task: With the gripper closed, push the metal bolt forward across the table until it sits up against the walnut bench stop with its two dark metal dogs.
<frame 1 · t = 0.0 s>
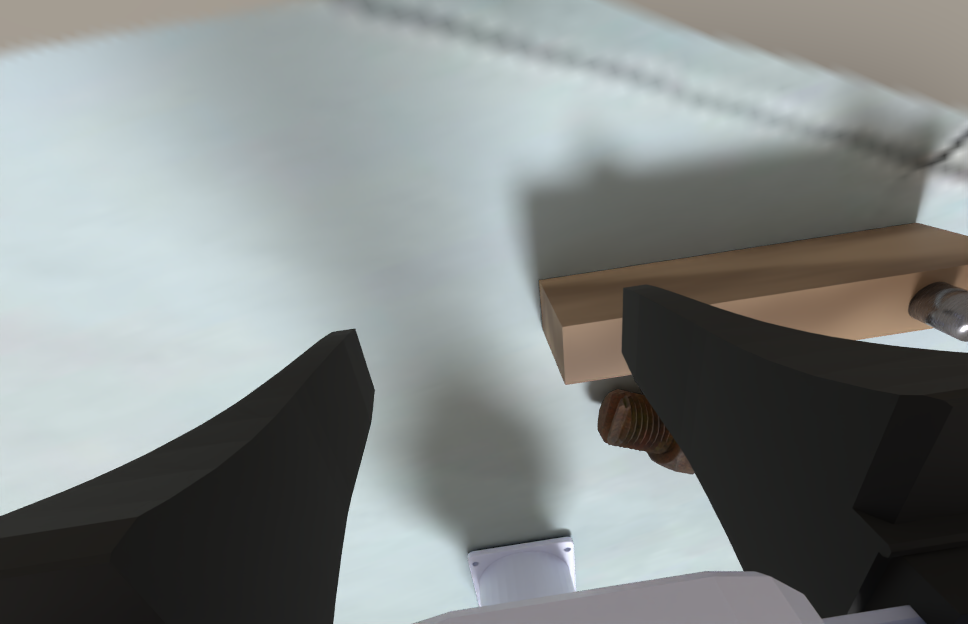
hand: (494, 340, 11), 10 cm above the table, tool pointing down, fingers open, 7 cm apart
bench stop: (724, 277, 22), on the table
bolt: (699, 408, 27), on the table
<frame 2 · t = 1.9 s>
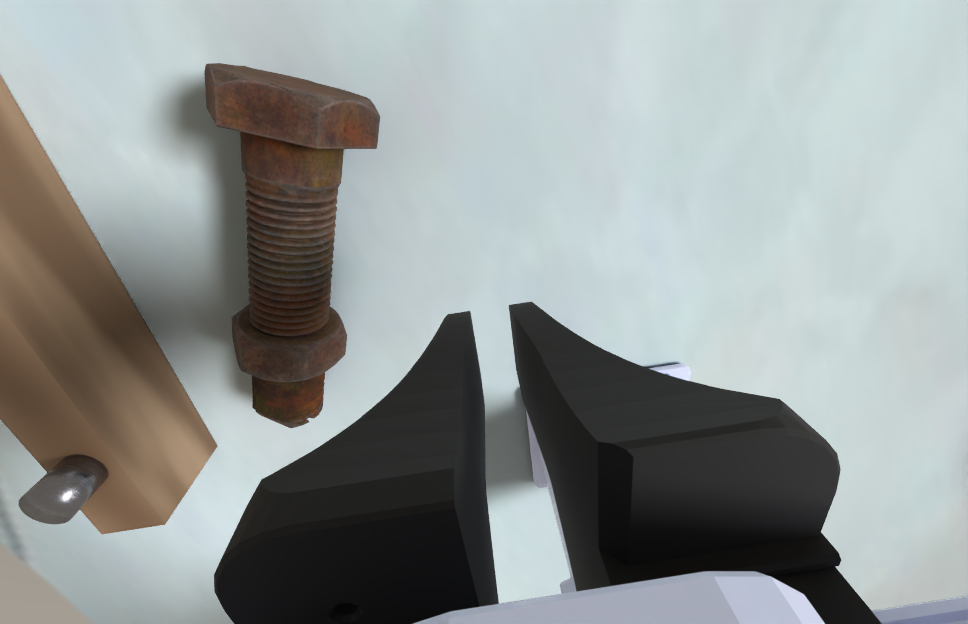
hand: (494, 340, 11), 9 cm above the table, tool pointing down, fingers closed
bench stop: (94, 295, 19), on the table
bolt: (306, 257, 20), on the table
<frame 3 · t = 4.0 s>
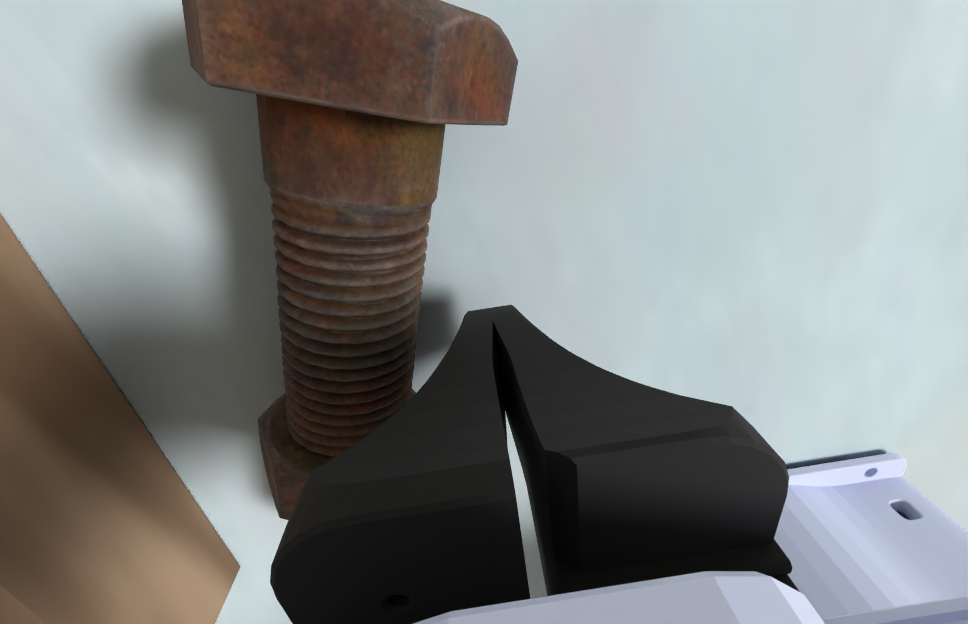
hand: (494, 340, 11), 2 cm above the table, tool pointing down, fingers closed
bench stop: (59, 379, 13), on the table
bolt: (364, 310, 13), on the table
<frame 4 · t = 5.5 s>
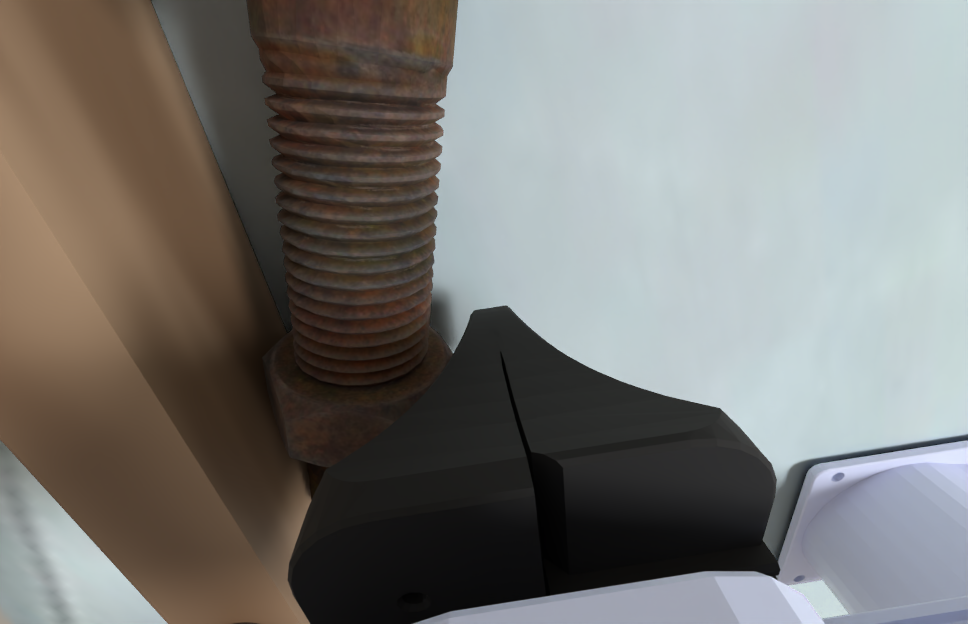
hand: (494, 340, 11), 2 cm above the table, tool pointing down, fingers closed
bench stop: (241, 349, 13), on the table
bolt: (374, 240, 12), on the table, touching gripper
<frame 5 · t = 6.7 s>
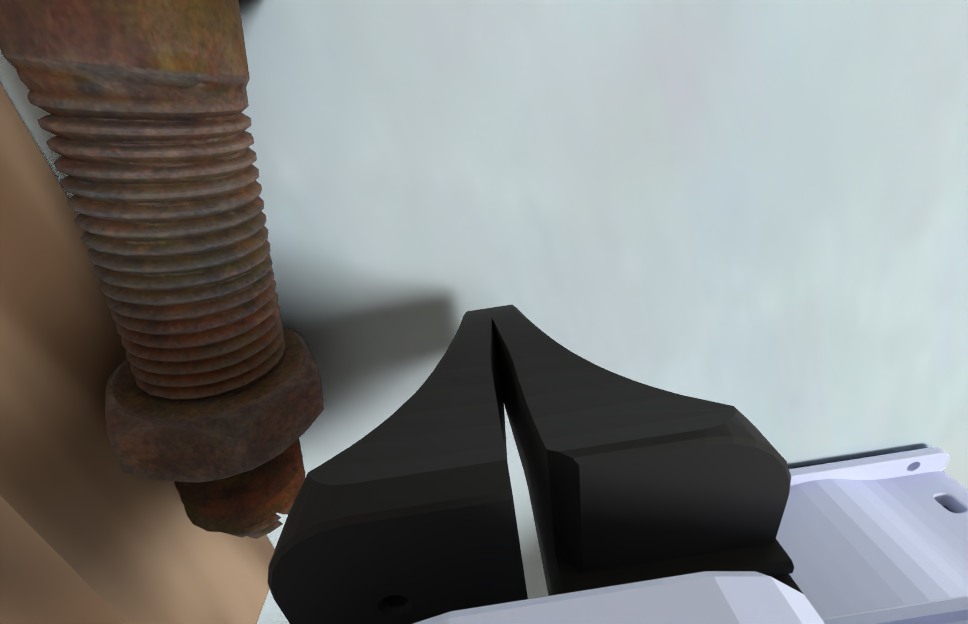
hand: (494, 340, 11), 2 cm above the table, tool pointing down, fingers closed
bench stop: (113, 367, 13), on the table
bolt: (240, 251, 12), on the table
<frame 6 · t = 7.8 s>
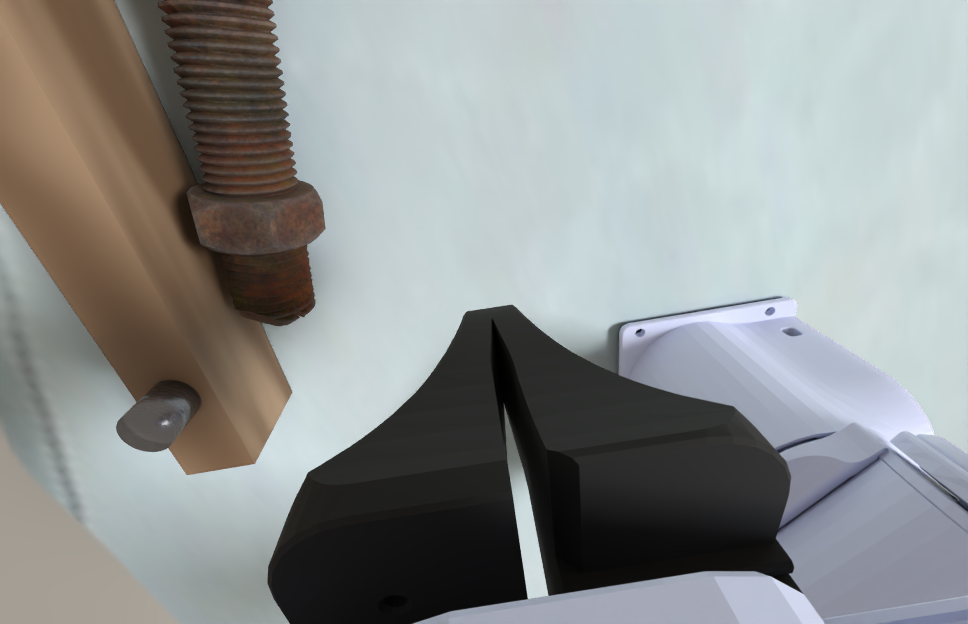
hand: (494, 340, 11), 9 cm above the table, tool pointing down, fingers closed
bench stop: (175, 216, 18), on the table
bolt: (265, 124, 17), on the table
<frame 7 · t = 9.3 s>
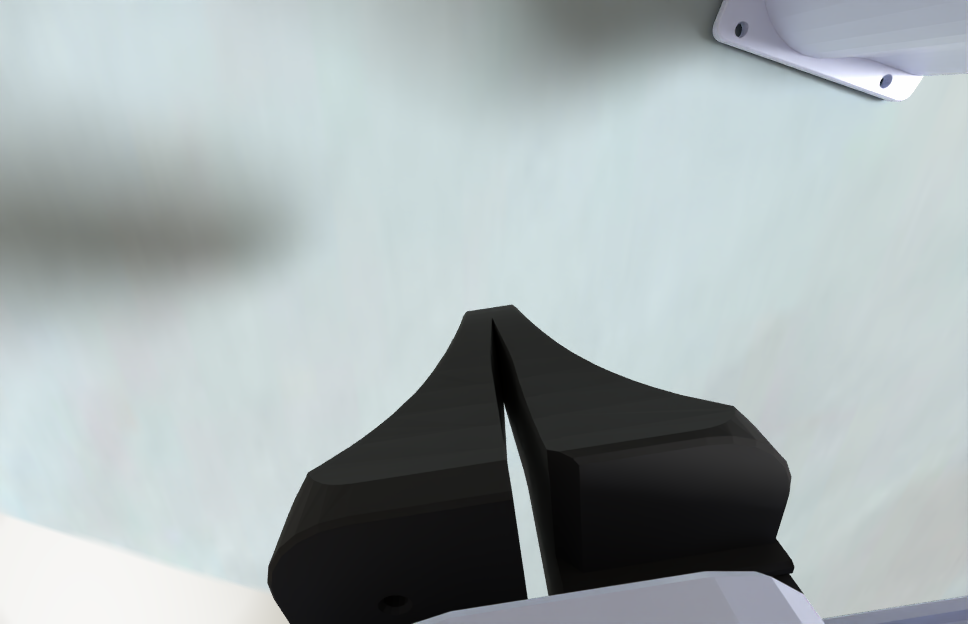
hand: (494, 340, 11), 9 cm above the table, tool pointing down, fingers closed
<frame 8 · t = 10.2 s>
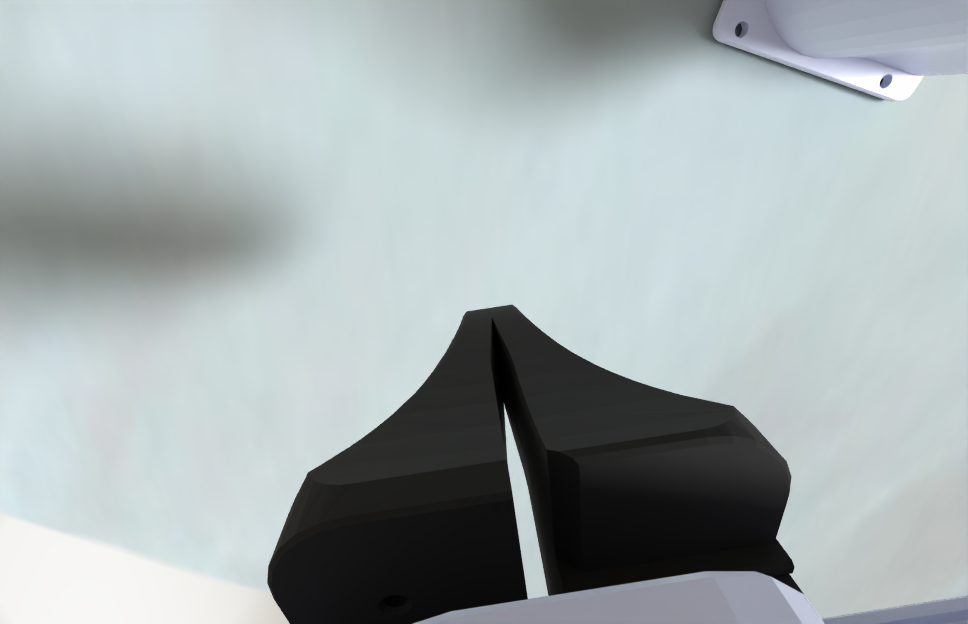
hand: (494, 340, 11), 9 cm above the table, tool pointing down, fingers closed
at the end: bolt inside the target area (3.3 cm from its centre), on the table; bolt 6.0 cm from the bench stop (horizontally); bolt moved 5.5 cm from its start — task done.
